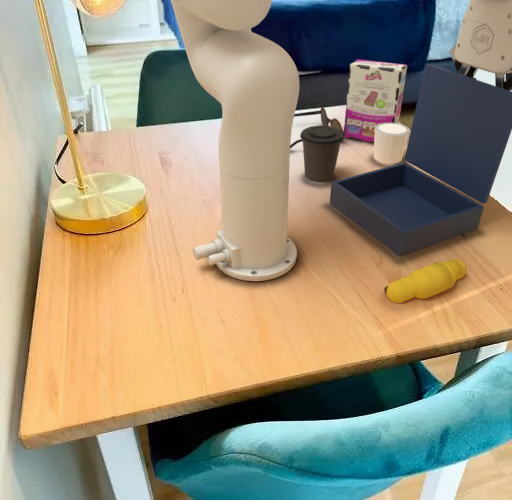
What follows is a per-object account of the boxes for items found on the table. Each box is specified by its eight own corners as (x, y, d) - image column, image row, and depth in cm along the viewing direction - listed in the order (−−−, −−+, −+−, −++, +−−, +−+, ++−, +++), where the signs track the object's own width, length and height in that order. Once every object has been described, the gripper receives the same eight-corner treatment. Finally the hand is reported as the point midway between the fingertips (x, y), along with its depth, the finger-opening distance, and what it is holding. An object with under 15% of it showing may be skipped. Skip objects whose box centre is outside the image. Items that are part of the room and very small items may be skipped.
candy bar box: (396, 139, 114) (409, 64, 105) (390, 147, 110) (402, 70, 101) (349, 130, 118) (357, 57, 109) (342, 138, 115) (349, 63, 105)
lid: (520, 95, 70) (542, 92, 72) (426, 64, 83) (446, 62, 85) (483, 204, 79) (503, 199, 81) (403, 160, 93) (422, 156, 95)
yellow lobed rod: (400, 315, 66) (405, 292, 64) (379, 297, 69) (384, 274, 67) (474, 284, 72) (481, 262, 69) (452, 269, 75) (458, 246, 72)
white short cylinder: (405, 168, 102) (411, 135, 98) (371, 166, 103) (375, 133, 99) (403, 154, 107) (408, 122, 103) (370, 152, 108) (374, 121, 104)
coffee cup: (293, 184, 96) (295, 135, 91) (303, 167, 103) (306, 119, 97) (335, 191, 94) (340, 140, 88) (343, 172, 101) (348, 124, 95)
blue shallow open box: (398, 260, 76) (404, 233, 74) (329, 206, 90) (331, 181, 87) (476, 232, 83) (484, 206, 80) (400, 185, 96) (404, 161, 93)
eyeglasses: (344, 146, 111) (347, 124, 108) (280, 154, 108) (280, 131, 105) (320, 122, 123) (322, 102, 120) (261, 129, 120) (261, 108, 117)
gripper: (443, -22, 76) (422, 98, 86) (545, -6, 63) (505, 132, 74) (479, -26, 79) (454, 91, 89) (583, -11, 66) (540, 122, 77)
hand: (478, 108), depth 81 cm, fingers closed on lid, 5 cm apart
